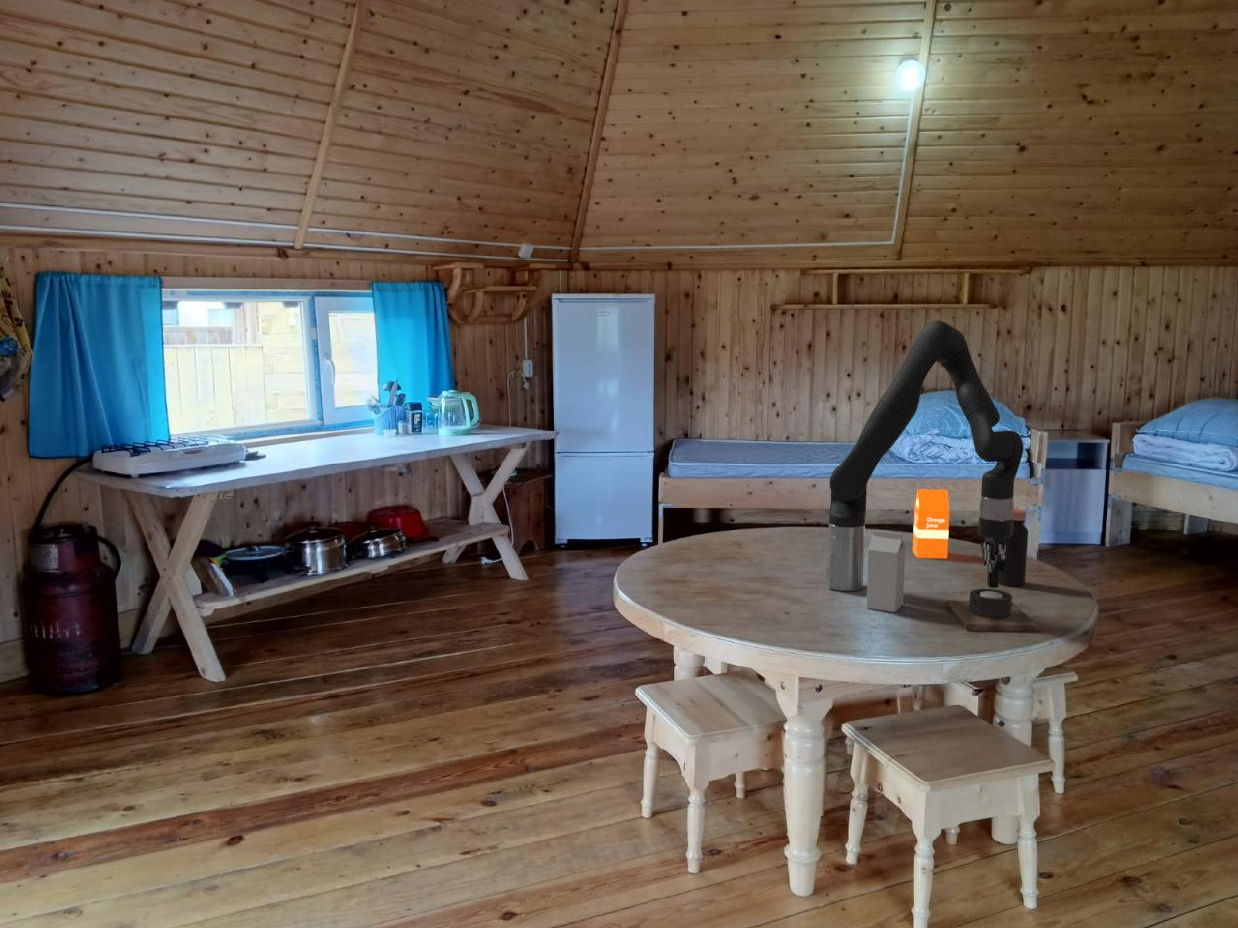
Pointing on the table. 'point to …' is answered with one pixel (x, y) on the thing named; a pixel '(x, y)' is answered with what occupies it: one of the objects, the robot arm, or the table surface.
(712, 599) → the table surface
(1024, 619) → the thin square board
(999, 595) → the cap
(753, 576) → the table surface
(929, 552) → the orange juice
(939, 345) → the robot arm
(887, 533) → the milk carton
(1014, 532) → the bottle
